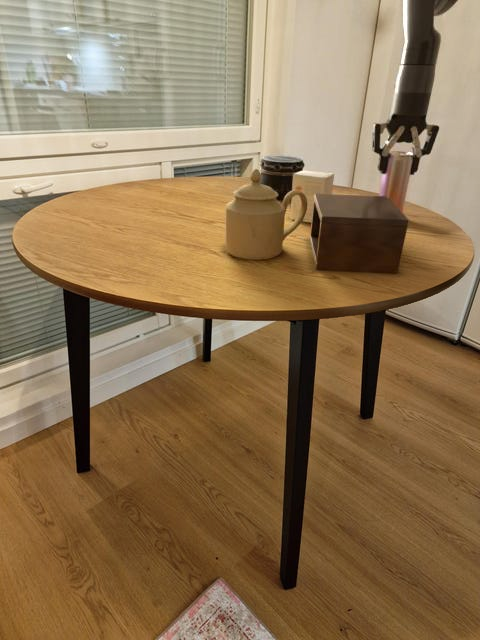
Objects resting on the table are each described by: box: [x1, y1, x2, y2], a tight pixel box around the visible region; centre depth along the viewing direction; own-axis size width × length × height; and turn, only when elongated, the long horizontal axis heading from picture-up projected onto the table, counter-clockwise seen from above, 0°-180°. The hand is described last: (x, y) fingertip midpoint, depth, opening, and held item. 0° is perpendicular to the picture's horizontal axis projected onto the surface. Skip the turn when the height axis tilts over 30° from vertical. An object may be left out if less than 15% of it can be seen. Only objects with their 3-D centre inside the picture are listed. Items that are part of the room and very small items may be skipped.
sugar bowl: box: [224, 168, 307, 261], centre depth 79 cm, size 15×11×15 cm
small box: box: [290, 169, 335, 223], centre depth 98 cm, size 8×6×10 cm
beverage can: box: [378, 150, 414, 213], centre depth 99 cm, size 6×6×15 cm
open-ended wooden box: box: [309, 194, 410, 274], centre depth 78 cm, size 14×16×9 cm
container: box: [258, 155, 305, 200], centre depth 120 cm, size 13×13×10 cm
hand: (396, 173), depth 97 cm, fingers closed on beverage can, 6 cm apart
